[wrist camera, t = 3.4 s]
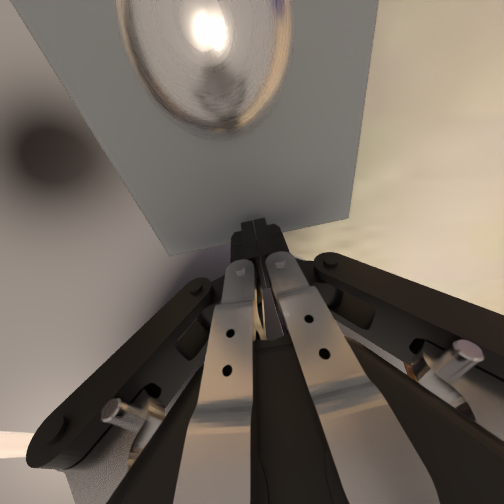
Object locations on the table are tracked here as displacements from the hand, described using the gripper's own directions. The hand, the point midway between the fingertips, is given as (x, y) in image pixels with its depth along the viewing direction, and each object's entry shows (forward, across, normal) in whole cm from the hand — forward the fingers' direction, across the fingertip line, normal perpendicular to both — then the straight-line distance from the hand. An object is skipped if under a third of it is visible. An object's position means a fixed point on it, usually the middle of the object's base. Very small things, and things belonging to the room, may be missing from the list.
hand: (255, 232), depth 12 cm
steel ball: (-2, 0, -8) cm, 8 cm away
